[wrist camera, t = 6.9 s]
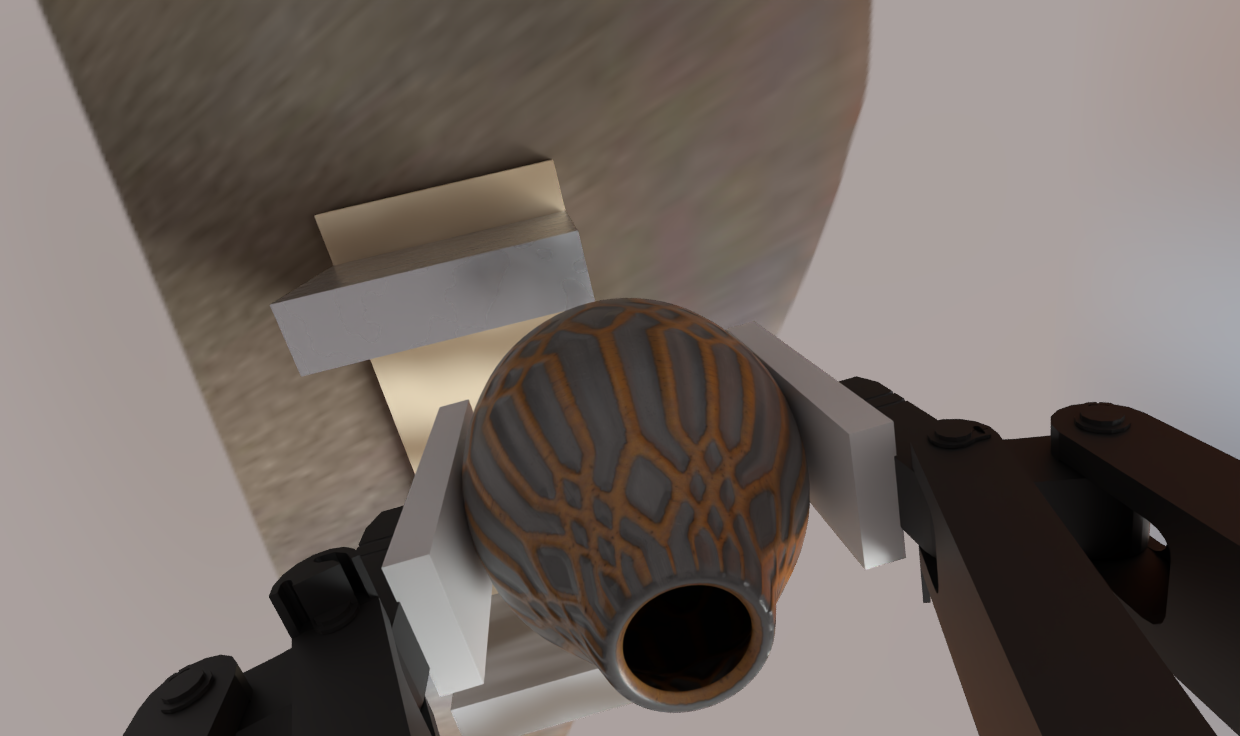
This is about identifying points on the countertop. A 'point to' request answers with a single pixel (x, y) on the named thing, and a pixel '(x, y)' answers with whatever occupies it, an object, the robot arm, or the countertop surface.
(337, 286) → the block
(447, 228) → the vise
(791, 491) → the vase
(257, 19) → the countertop surface
